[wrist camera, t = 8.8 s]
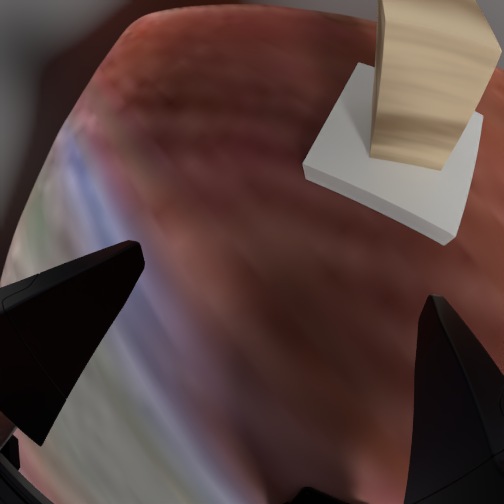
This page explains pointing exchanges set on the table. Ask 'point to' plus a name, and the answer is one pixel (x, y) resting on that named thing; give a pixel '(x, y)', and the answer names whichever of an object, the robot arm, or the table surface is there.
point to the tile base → (390, 167)
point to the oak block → (428, 77)
